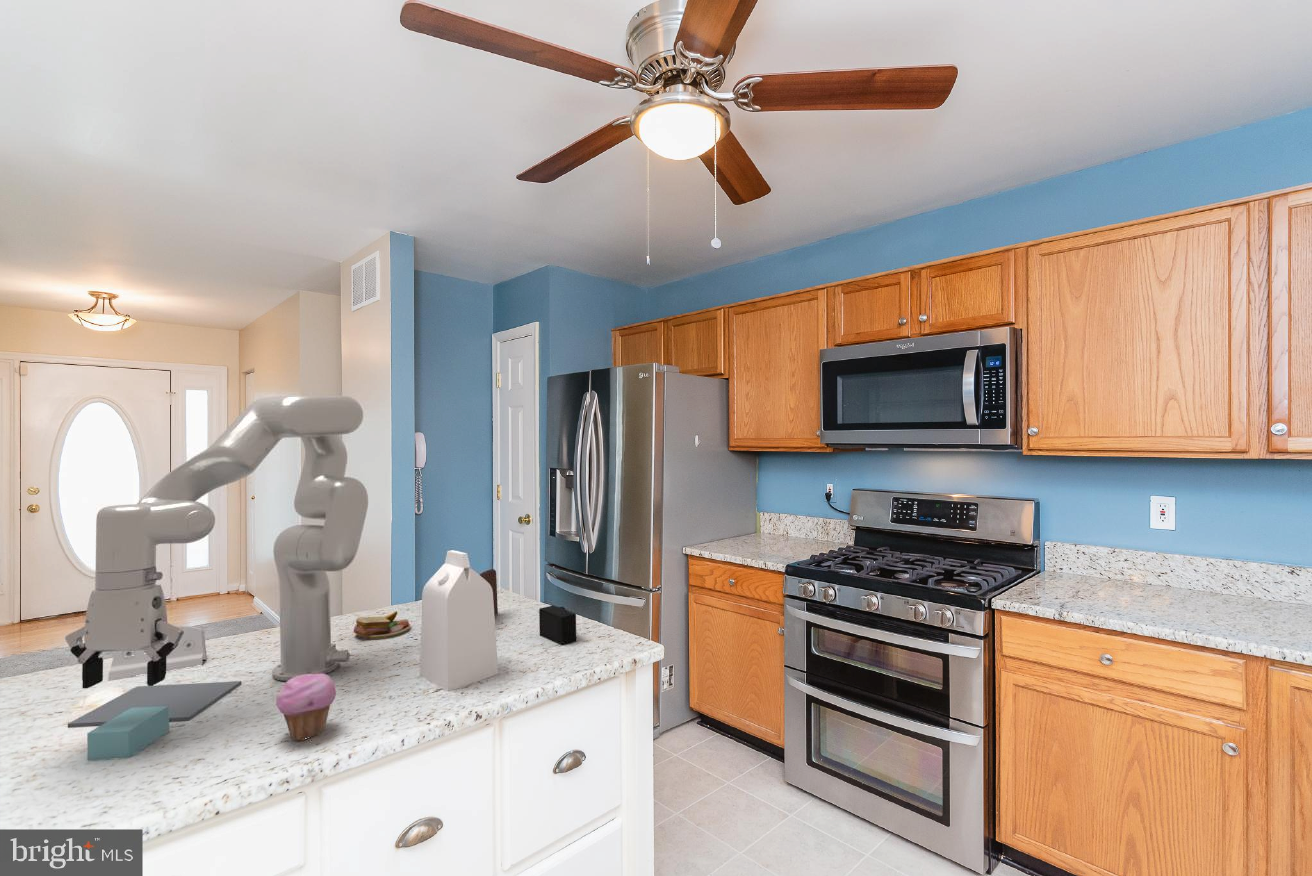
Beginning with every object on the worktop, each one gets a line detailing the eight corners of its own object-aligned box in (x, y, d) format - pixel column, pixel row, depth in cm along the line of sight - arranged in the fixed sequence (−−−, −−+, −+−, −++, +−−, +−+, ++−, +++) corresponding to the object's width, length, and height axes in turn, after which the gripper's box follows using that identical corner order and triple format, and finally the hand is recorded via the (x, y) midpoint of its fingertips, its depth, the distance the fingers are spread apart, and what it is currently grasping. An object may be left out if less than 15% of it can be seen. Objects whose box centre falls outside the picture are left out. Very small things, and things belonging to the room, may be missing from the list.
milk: (498, 674, 127) (496, 551, 127) (447, 691, 119) (445, 560, 119) (469, 660, 135) (467, 545, 135) (419, 675, 127) (417, 552, 127)
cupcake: (271, 734, 102) (270, 675, 102) (327, 717, 108) (326, 661, 108) (285, 753, 96) (284, 690, 96) (343, 733, 102) (342, 675, 102)
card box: (168, 731, 104) (168, 705, 104) (128, 759, 95) (128, 731, 95) (131, 733, 104) (131, 707, 104) (87, 761, 95) (87, 733, 95)
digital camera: (580, 640, 147) (580, 612, 147) (562, 646, 144) (561, 616, 144) (557, 630, 155) (557, 603, 155) (539, 635, 151) (539, 608, 151)
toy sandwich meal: (414, 635, 154) (414, 616, 154) (355, 645, 147) (355, 625, 147) (406, 622, 165) (406, 605, 165) (351, 631, 158) (351, 613, 158)
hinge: (105, 681, 126) (110, 632, 129) (112, 681, 130) (117, 633, 133) (203, 665, 134) (206, 619, 137) (207, 666, 138) (209, 621, 141)
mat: (241, 684, 124) (241, 681, 124) (188, 720, 108) (188, 717, 108) (137, 689, 122) (137, 686, 122) (67, 727, 106) (67, 723, 106)
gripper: (197, 573, 104) (195, 673, 103) (88, 576, 102) (86, 677, 102) (166, 583, 96) (164, 690, 96) (48, 586, 95) (46, 695, 94)
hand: (124, 684), depth 99 cm, fingers open, 9 cm apart
